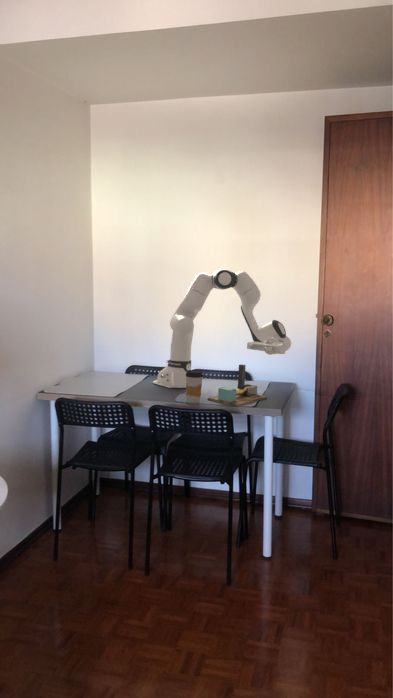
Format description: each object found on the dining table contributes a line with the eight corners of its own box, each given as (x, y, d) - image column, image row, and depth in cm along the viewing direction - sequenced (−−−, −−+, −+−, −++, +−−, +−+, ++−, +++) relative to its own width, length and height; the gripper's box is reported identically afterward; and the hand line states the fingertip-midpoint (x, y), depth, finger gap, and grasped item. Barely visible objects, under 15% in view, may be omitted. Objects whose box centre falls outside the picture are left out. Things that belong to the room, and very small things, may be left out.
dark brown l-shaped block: (232, 395, 290) (233, 365, 288) (247, 391, 301) (248, 362, 299) (237, 396, 289) (238, 366, 287) (252, 392, 300) (253, 363, 298)
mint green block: (218, 399, 285) (218, 388, 284) (223, 398, 289) (224, 386, 288) (229, 401, 281) (230, 390, 280) (235, 400, 284) (236, 389, 284)
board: (207, 399, 287) (207, 397, 287) (236, 392, 308) (236, 390, 307) (238, 406, 277) (238, 404, 276) (266, 398, 297) (266, 396, 297)
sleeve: (236, 394, 297) (237, 386, 297) (246, 392, 304) (246, 383, 303) (247, 396, 293) (248, 388, 293) (256, 394, 300) (257, 385, 300)
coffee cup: (195, 404, 276) (197, 373, 274) (181, 402, 280) (182, 371, 278) (205, 401, 283) (206, 371, 281) (190, 399, 287) (191, 369, 285)
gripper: (255, 338, 318) (240, 340, 307) (288, 342, 306) (274, 344, 295) (254, 349, 319) (240, 352, 308) (287, 354, 307) (274, 356, 296)
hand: (257, 348), depth 302 cm, fingers open, 8 cm apart
